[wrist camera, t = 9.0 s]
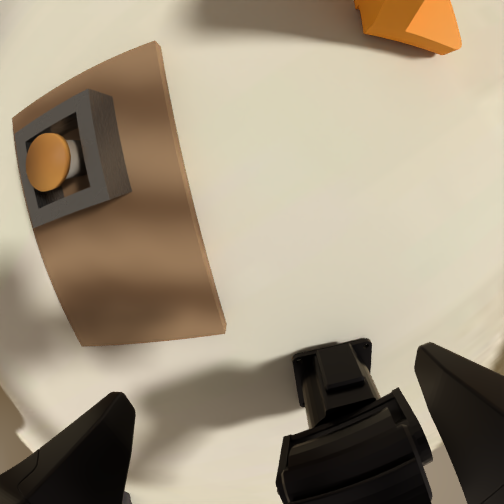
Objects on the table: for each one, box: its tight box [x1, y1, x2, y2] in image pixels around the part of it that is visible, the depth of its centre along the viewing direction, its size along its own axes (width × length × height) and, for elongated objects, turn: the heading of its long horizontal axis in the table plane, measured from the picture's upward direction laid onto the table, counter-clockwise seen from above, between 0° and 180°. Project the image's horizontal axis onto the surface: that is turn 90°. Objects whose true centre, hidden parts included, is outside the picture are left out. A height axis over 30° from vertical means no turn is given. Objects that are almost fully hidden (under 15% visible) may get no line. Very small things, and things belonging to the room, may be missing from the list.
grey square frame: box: [14, 89, 132, 228], centre depth 14 cm, size 6×6×3 cm
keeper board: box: [12, 41, 227, 346], centre depth 15 cm, size 20×13×5 cm, turn 12°
